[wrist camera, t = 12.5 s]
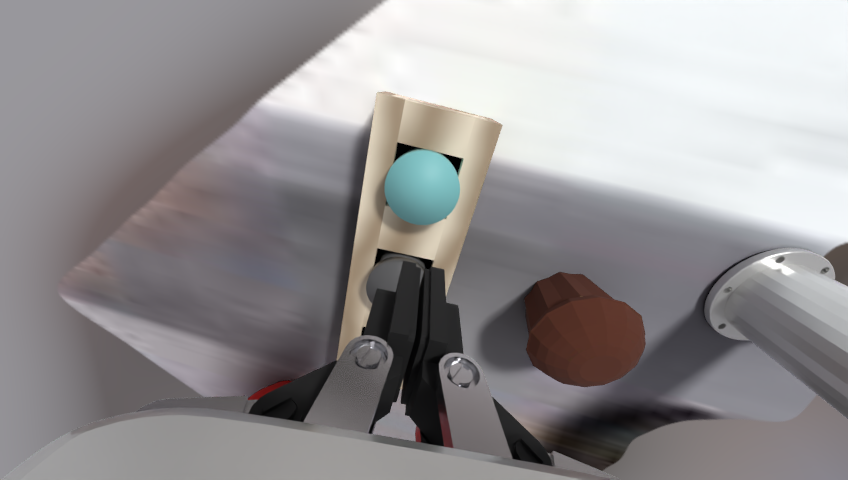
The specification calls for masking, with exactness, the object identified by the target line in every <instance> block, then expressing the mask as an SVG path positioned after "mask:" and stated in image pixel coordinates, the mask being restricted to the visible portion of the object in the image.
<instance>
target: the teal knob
mask: <svg viewBox="0 0 848 480" xmlns="http://www.w3.org/2000/svg"><path fill="white" fill-rule="evenodd" d="M459 195H460V183H459V178H458V175H457V172H456V170H455V168H454V166H453V165H452V163H451V162H450V161H449V160H448V159H447V158H446V156H445V155H444V154H443V153H439V152H436V151H433V150H428V149H423V148H419V147H413V148H411V149H409V150H408V151H407V152H406V153H405V154H403V155H402V156H400V157H399V158H398V159H397V160H396V161H395V162H394V163H393V165H392V166H391V168H390V170H389V172H388V174H387V176H386V180H385V196H386V200H387V202H388V205H389V206H390V208H391V209H392V211H393V212H394V213H395V214H396V215H397V216H398V217H400V218H401V219H403V220H404V221H406V222H409V223H412V224H416V225H429V224H434V223H437V222H439V221H441V220H443V219H444V218H446V217H447V216H448V215H449V214H450V213H451V212H452V211H453V209H454V208H455V206H456V204H457V202H458V199H459Z"/></svg>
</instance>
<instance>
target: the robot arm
mask: <svg viewBox="0 0 848 480" xmlns="http://www.w3.org/2000/svg"><path fill="white" fill-rule="evenodd" d="M420 274H421V268H419V267H416V263H413V262H409V261H404V260H403V263H402V267H401V271H400V275H399V280H398V284H397V288H396V292H393V291H388V290H383V289H379V288H377V290H376V293H375V296H374V300H373V303H372V307H371V310H370V314H369V317H368V321H367V324H366V327H365V331H364V334H363V336H359V337H356V338H354V339H353V340H351V341H350V342H349V343H348V344H347V346H346V347H345V349H344V351H343V352H342V354H341V356H340V358H339V360H337V361H334V362H332V363H330V364H328V365H326V366H324V367H322V368H320V369H317V370H315V371H313V372H311V373H309V374H307V375H305V376H303V377H300V378H298V379H296V380H294V381H292V382H290V383H288V384H286V385H283V386H281V387H279V388H277V389H275V390H273V391H271V392H269V393H267V394H265V395H264V396H262V397H260V398H259V399H258V400H248V396H227V397H199V398H170V399H163V400H157V401H155V402H152V403H150V404H147V405H145V406H143V407H142V408H140V409H139V410H137V411H136V412H133V413H128V414H122V415H118V416H114V417H110V418H106V419H102V420H99V421H96V422H93V423H90V424H87V425H85V426H82V427H80V428H77V429H75V430H72V431H70V432H69V433H67V434H65V435H63V436H61V437H59V438H58V439H56V440H54V441H53V442H51V443H49V444H48V445H46V446H45V447H43V448H42V449H40V450H39V451H37V452H36V453H35V454H33V455H32V456H31V457H29V458H28V459H26V460H25V461H24V462H22V463H21V464H20V465H18V466H17V467H16V468H15V469H13V470H12V471H11V472H10V473H9V474H7V475H6V476H5V477H3V478H2V479H1V480H620V479H618V478H617V477H614V476H612V475H610V474H607V473H605V472H603V471H600V470H598V469H595V468H593V467H591V466H588V465H586V464H583V463H581V462H579V461H576V460H574V459H572V458H569V457H567V456H564V455H562V454H560V453H557V452H555V451H553V452H552V453H551V454H549V453H547V452H546V450H545V448H544V447H543V446H542V445H541V444H540V443H539V441H538V440H537V439H536V438H534V437H533V436H532V435H531V434H530V433H529V432H528V431H527V430H526V429H525V428H524V427H523V426H522V425H521V424H520V423H519V422H518V421H517V420H516V419H515V418H514V417H513V416H512V415H511V414H510V413H509V412H507V411H506V410H505V409H504V408H503V407H502V406H501V405H500V404H499V403H498V402H497V401H496V400H495V399H494V398H493V397H492V396H491V393H490V390H489V387H488V384H487V381H486V377H485V374H484V372H483V370H482V368H481V366H480V365H479V364H478V363H477V362H476V361H475V360H474V359H472V358H471V357H469V356H467V355H465V354H463V345H462V336H461V327H460V317H459V308H458V306H457V305H454V304H450V303H446V290H445V271H444V269H441V268H436V267H432V266H431V267H430V269H429V270H428V269H425V270H424V273H423V277H422V280H421V284H420ZM704 312H705V318H706V320H707V322H708V324H709V325H710V326H711V327H712V328H713V329H715V330H716V331H717V332H718V333H720V334H721V335H723V336H725V337H727V338H731V339H735V340H747V341H748V340H750V341H751V342H752V343H754V344H755V345H756V346H757V347H759V348H760V349H761V350H762V351H764V352H765V353H766V354H767V355H769V356H770V357H771V358H772V359H774V360H775V361H776V362H777V363H779V364H780V365H781V366H782V367H784V368H785V369H786V370H787V371H788V372H790V373H791V374H792V375H793V376H795V377H796V378H797V379H798V380H800V381H801V382H802V383H803V384H805V385H806V386H807V387H808V388H810V389H811V390H812V391H813V392H815V393H816V394H817V395H818V396H820V397H821V398H822V399H823V400H825V401H826V402H827V403H828V404H830V405H831V406H832V407H833V408H835V409H836V410H837V411H838V412H840V413H841V414H842V415H843V416H844V417H846V418H847V419H848V286H846V285H844V284H841V283H839V282H837V281H835V273H834V269H833V267H832V265H831V264H830V262H829V261H828V260H827V259H825V258H824V257H822V256H821V255H818V254H816V253H814V252H811V251H809V250H805V249H801V248H781V249H774V250H770V251H766V252H763V253H760V254H758V255H755V256H752V257H750V258H748V259H746V260H744V261H742V262H740V263H739V264H737V265H736V266H734V267H733V268H731V269H730V270H729V271H728V272H726V273H725V274H724V275H723V276H722V277H721V278H720V279H719V280H718V281H717V282H716V283H715V285H714V286H713V287H712V289H711V291H710V292H709V294H708V296H707V299H706V302H705V308H704ZM402 381H403V385H402V394H401V404H406V412H405V415H407V416H410V418H411V419H412V420H413V421H414V423H415V424H416V425H417V426H416V432H415V436H416V442H414V441H409V440H403V439H397V438H392V437H386V436H380V435H374V434H373V431H374V428H375V425H376V422H377V421H378V420H379V419H381V418H382V417H384V416H385V415H387V414H388V413H390V409H391V406H392V402H396V401H397V398H398V395H399V391H400V388H401V384H402Z"/></svg>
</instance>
